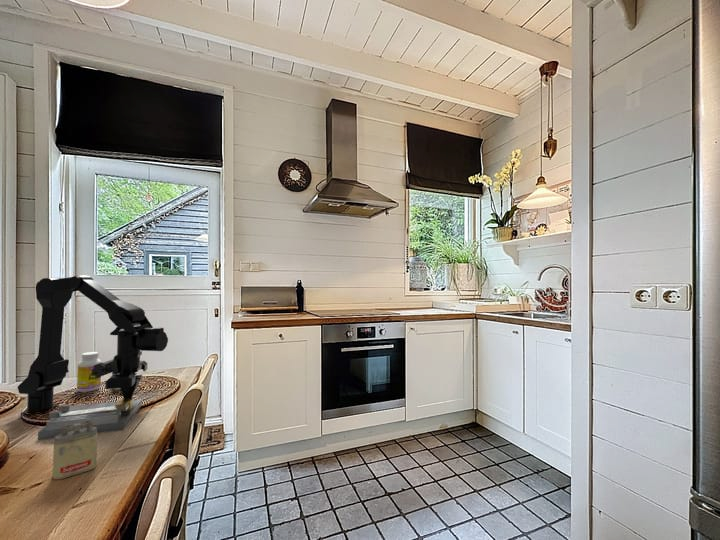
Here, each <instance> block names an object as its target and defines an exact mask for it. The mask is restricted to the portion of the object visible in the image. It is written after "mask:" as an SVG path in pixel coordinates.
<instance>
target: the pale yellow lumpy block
mask: <svg viewBox="0 0 720 540" xmlns="http://www.w3.org/2000/svg"><path fill="white" fill-rule="evenodd" d="M134 400H135V399H134V396H133V397H131V398H124V397H120V398H118V399H117V401H115V402H116V405H115V408H120V407H126V406H127V405H128V404H129V408H128V409H127V410H126V411H128V410H131V409H132V408H133V405H134Z"/></svg>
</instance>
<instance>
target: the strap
mask: <svg viewBox="0 0 720 540" xmlns="http://www.w3.org/2000/svg"><path fill="white" fill-rule="evenodd" d="M128 408H129V404H128V405H127V406H126V407H120V408H115V406H111V407H103V408H94V409H86V410H78V411H70V412H61V418H62V417H71V416H81V415H91V414H101V413H111V412H121V411H126V410H127V409H128Z"/></svg>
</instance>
